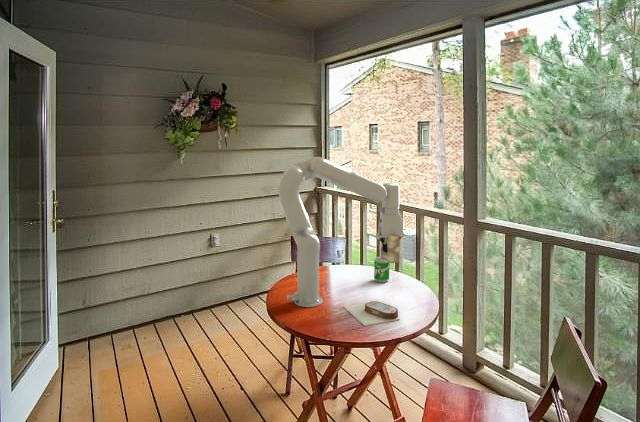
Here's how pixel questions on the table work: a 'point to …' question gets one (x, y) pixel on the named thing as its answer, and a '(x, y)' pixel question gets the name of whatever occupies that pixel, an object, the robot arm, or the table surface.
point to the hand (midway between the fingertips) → (389, 251)
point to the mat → (365, 315)
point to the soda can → (381, 270)
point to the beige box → (392, 249)
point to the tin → (381, 310)
